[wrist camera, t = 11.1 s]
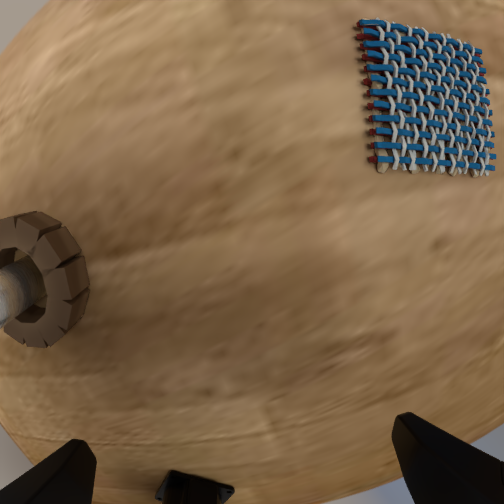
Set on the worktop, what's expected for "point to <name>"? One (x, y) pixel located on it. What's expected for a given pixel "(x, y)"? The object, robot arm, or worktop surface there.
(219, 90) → the worktop surface
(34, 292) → the grey cylinder
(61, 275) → the walnut gear
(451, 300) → the worktop surface
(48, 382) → the worktop surface
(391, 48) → the woven mat
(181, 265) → the worktop surface
